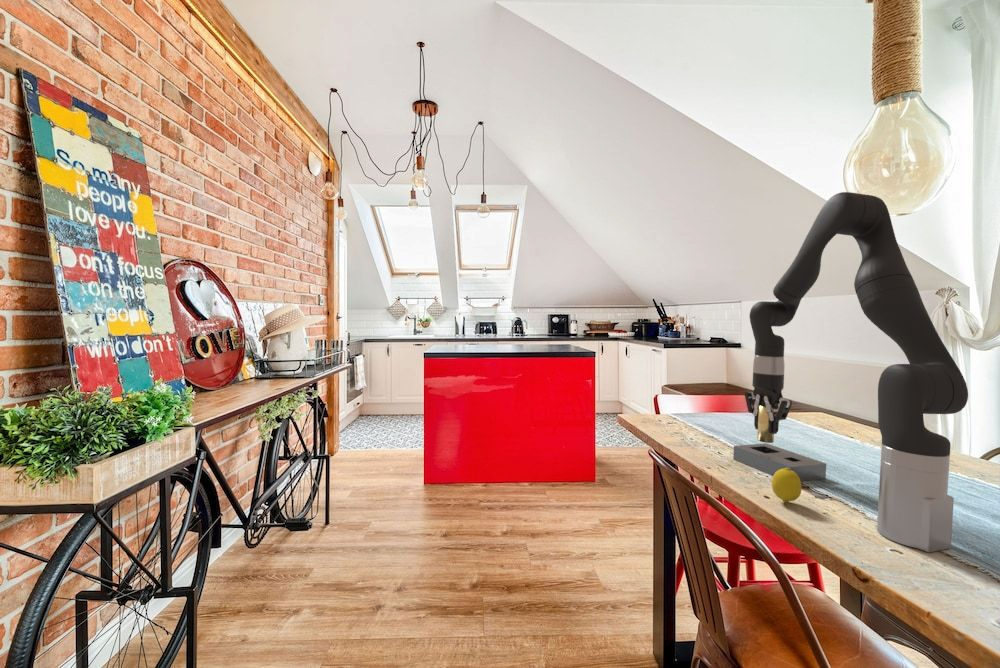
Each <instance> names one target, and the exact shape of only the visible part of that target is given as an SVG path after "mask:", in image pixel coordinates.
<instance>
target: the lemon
mask: <svg viewBox="0 0 1000 668" xmlns="http://www.w3.org/2000/svg"><path fill="white" fill-rule="evenodd" d="M771 487H772V491H773V494H774V495H775V496H776V497H777V498H778V499H780V500H781V501H782V502H783V503H785V504H788V503H790V502H793V501H796V500H797V499H798V498H799V497H800V496H801V493H802V481H800V478H799V476H798V475H797V474H796V473H795V472H794V471H792V470H790V469H789V468H784V469H780V470H778V471H776V472H775V474H774V476H773V475H772V480H771Z"/></svg>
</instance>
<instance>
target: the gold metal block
mask: <svg viewBox="0 0 1000 668" xmlns="http://www.w3.org/2000/svg"><path fill="white" fill-rule="evenodd" d="M772 409H775V408H772ZM774 414H775V413H774ZM774 416H775V415H774ZM769 420H770V417H769V413H768V412H767V409H766V407H765V406H761V405H759V410H758V430H757V434H756V435H757V436H756V438H757V441H758V442H761V443H767V444H773V443H775V442H774V441H775V434H770V433H769Z"/></svg>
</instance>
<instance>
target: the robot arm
mask: <svg viewBox="0 0 1000 668" xmlns="http://www.w3.org/2000/svg"><path fill="white" fill-rule="evenodd" d="M889 211H890V210H889V209H888V206H887V205H886V203H885V201H884V200H883V199H882V198H880V197H879V196H877V195H876V196H875V195H871V194H864V193H858V192H857V193H856V192H851V191H850V192H849V191H842V192H838V193H836V194H833V195H832V196H831V197H830V198H829V199H828V200H827V201H826V202H825V204H823V206H822V207H821V209H820V210H819V212H818V214H817V216H816V217H815V220H814V221H813V224H812V226H811V227H810V229H809V230H808V233H807V235H806V236H805V238H804V240H803V243H802V245H801V247H800V248H799V250H798V252H797V254H796V256H795V258H794V259H793V261H792V263H791V264H790V266H789V267H788V269H786V271H785V272H784V274H783V275H782V276H781V277H780V279H779V280H778V282H777V283H776V284H775V286H774V287H773V290H772V292H773V295H774V297H775V298H776V299H777V300H776V301H766V300H765V301H758V302H756V303H755V304H753V305H752V307H751V309H750V312H749V322H750V325H751V330H752V334H753V338H754V342H755V345H754V358H753V366H752V367H753V368H752V388H753V390H752V392H745V393H744V397H745V402H746V408H747V411H748V413H749V414H750V413H751V414H752V415H753V416H754V421H753V422H754V423H753V424H754V429H755V430H756V431H758V410H759V405H761V406H765V407H766V409H767V412H768V413H769V417H770V420H769V433H770V434H774V435H776V434H777V433H779V423H780V421H783V420H785V421H786V420H787V417H788V415H789V412H790V410H791V407H792V405H793V401H792V400H790V399H786V398H784V396H783V394H782V393H783V392H782V391H783V390H784V387H785V386H784V385H785V383H784V382H785V339H784V337H782V336H781V335H778V334H775V332H774V331H773V328H772V327H775V328H776V327H777V328H778V327H779V328H780V327H785V326H786V325H788V324H789V323H790V322H791V321H792V320H793V319H794V317H795V316H796V313H797V311H798V309H799V306H800V304H801V301H802V299H803V298H804V296H806V294H807V293H808V292H809V291H810V290H811V289H812V287H813V286H814V285H815V283H816V281H818V278H819V276H820V271H821V266H822V264H821V263H822V255H823V253H824V249H825V248H826V247H827V245H828V243H830V242H831V240H832V239H833V238H834V237H835V236H836V235H844V236H851V237H853V239H854V240H855V241H856V242H857V245H858V248H859V250H860V253H861V262H860V264H859V267H858V269H857V273H856V274H855V278H854V283H853V285H854V286H853V287H854V292H855V295H856V297H857V299H858V303H859V305H860V308H861V310H862V312H863V314H864V315H865V316H866V318H867V319H868V320H869V321H870V322H871V323H872V324H873V325H875V326H876V327H877V328H878V329H879V330H880V331H881V332H883V333H884V334H885V335H886V336H887V337H889V338H890V339H891V340H892V341H893V342H894V343H896V344H897V346H899V348H900V349H901V351H902V352H903V353H904V355H905V356H906V359H907V360H908V363H896V364H895V363H894V364H891V365H889V366H886V367H885V369H884V370H883V371H882V373H881V374H880V377H879V378H878V379H879V380H878V383H877V385H878V386H877V409H878V410H877V412H878V413H877V414H878V415H877V418H878V419H877V422H878V428H879V431H880V435H881V449H880V451H881V452H880V465H879V467H880V468H879V482H878V483H879V484H878V487H879V488H878V502H877V504H878V505H877V518H876V519H877V520H876V521H877V525H876V529H877V530H876V531H878V533H879V534H880V535H882V536H883V537H885V538H887V539H889V540H891V541H893V542H895V543H898V544H900V545H903V546H906V547H910V548H914V549H918V550H921V551H924V552H927V553H934V552H938V551H943V550H947V549H951V548H952V533H953V532H952V531H953V517H954V504H955V503H954V501H955V499H954V497H953V496H951V495H949V494H948V493H949V489H948V488H949V477H950V476H949V474H950V461H951V460H950V459H951V442H950V440H949V438H947V437H946V436H944V435H942V434H938V433H936V432H933V431H931V430H929V429H928V428H927V427H926V425H925V421H924V419H925V418H924V415H951V414H952V415H953V414H958V413H959V412H961V411H962V410H963V409H964V408H965V407H966V406H967V403H968V400H969V391H968V390H969V389H968V386H967V385H968V384H967V382H966V379H965V378H964V376H963V373H962V372H961V370H960V368H959V367H958V364H956V361H955V360H954V358H953V357H952V355H951V353H950V352H949V351H948V348H947V347H946V346H945V344H944V342H943V341H942V338H941V337H940V335H939V333H938V331H937V330H936V327H935V325H934V323H933V322H932V319H931V317H930V315H929V313H928V311H927V309H926V307H925V304H924V302H923V299H922V297H921V294H920V291H919V288H918V287H917V285H916V282H915V280H914V278H913V275H912V274H911V272H910V270H909V268H908V265H907V263H906V261H905V258H904V256H903V254H902V251H901V249H900V245H899V243H898V242H897V238H896V234H895V231H894V230H895V229H894V227H893V223H892V219H891V216H890V215H891V214H890V212H889ZM772 408H775V409H772ZM774 413H775V414H774ZM774 415H775V416H774Z"/></svg>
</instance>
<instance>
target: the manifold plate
mask: <svg viewBox="0 0 1000 668" xmlns="http://www.w3.org/2000/svg"><path fill="white" fill-rule="evenodd" d="M732 457H733V458H732V459H733V460H734V461H736V462H739V463H741V464H744V465H746V466H748V467H752V468H753V469H756V470H758V471H760V472H763V473H766V474H768V475H771V476H772V477H773V476H774V474H775V472H776V471H778V470H780V469H784V468H789V469H790V470H792V471H794V472H795V473H796V474H797V475H798V476H799V478H800V481H801V482H807V481H815V480H826V478H827V477H826V476H827V463H826V462H823V461H820V460H816V459H814V458H811V457H809V456H805V455H803V454H799V453H796V452H793V451H791V450H787V449H784V448H782V447H778V446H775V445H773V444H771V443H766V442H763V443H755V444H751V443H750V444H744V445H743V444H742V445H741V444H740V445H733V456H732Z"/></svg>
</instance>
